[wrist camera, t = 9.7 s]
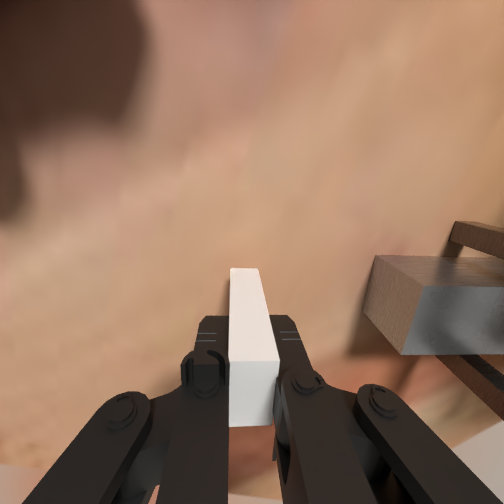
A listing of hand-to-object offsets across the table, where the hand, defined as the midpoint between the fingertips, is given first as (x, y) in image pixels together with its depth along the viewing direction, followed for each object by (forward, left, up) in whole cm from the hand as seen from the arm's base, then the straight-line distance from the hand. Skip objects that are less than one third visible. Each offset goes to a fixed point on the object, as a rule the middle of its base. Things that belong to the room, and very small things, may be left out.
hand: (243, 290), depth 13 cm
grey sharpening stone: (+16, 0, -1) cm, 16 cm away
